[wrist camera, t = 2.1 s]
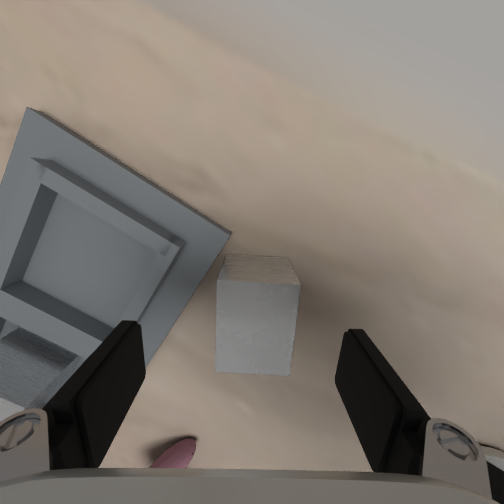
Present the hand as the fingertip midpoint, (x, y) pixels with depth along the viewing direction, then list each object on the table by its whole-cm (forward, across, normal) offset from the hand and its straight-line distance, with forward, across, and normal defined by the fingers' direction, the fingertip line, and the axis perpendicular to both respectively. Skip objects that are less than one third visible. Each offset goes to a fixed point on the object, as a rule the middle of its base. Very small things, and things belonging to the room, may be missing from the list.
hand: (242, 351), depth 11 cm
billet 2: (+7, -1, +1) cm, 7 cm away
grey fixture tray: (+8, +13, +3) cm, 16 cm away
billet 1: (+7, +16, +7) cm, 19 cm away
